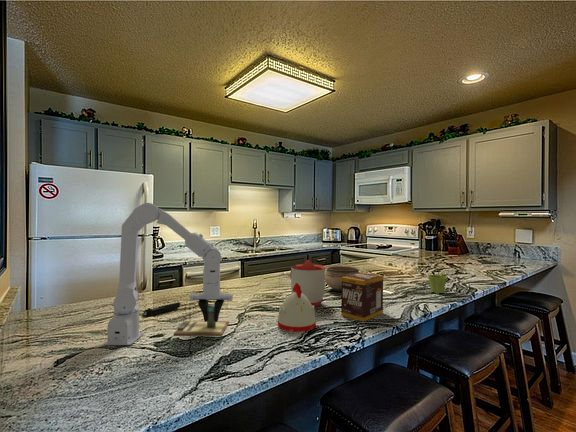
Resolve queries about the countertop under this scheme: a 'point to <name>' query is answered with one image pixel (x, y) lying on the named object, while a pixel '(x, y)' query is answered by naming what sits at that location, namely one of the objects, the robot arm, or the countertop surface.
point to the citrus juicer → (309, 281)
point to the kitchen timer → (296, 312)
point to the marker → (211, 316)
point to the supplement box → (362, 296)
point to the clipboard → (201, 328)
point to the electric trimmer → (161, 309)
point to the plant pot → (437, 283)
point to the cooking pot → (338, 275)
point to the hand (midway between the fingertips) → (211, 321)
